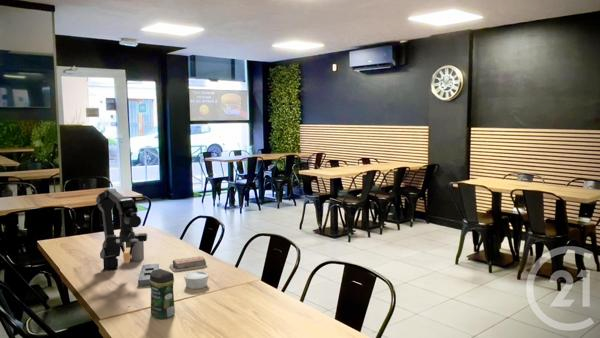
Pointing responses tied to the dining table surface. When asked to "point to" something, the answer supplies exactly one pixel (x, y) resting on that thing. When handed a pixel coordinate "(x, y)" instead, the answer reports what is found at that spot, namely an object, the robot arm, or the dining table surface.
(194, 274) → the ramekin
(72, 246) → the dining table surface
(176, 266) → the packaged product
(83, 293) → the dining table surface
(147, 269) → the grey slotted plate
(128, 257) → the long orange beam
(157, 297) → the coffee jar
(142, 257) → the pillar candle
